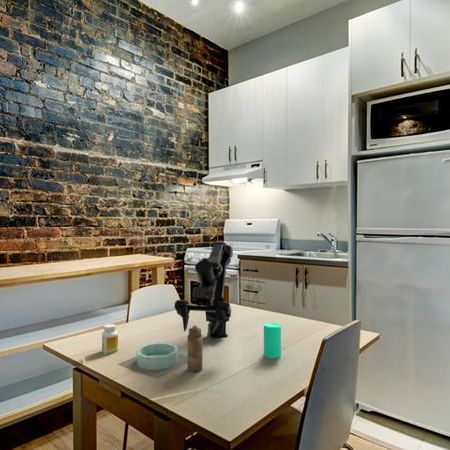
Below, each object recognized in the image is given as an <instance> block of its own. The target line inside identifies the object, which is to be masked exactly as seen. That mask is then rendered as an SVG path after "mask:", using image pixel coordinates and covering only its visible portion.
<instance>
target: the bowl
mask: <svg viewBox="0 0 450 450" xmlns="http://www.w3.org/2000/svg"><path fill="white" fill-rule="evenodd" d="M178 353H179V347H178V346H177V345H175V344H173V343H169V342H155V343H154V342H153V343H147V344H145V345H142V346H140V347H139V348H138V349H137V350H136V356H137V365H138V366H139V367H141V368H143V369H146V370H160V369H165V368H169V367H171V366H173V365H175V364H176V363H177V361H178Z"/></svg>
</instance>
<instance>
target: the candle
mask: <svg viewBox="0 0 450 450" xmlns="http://www.w3.org/2000/svg"><path fill="white" fill-rule="evenodd" d="M263 356H264V357H265V358H268V359H269V358H270V359H278V358H281V356H282V325H281V324H279V323H277V322H274V320H271V322H267V323H265V324H263Z"/></svg>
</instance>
